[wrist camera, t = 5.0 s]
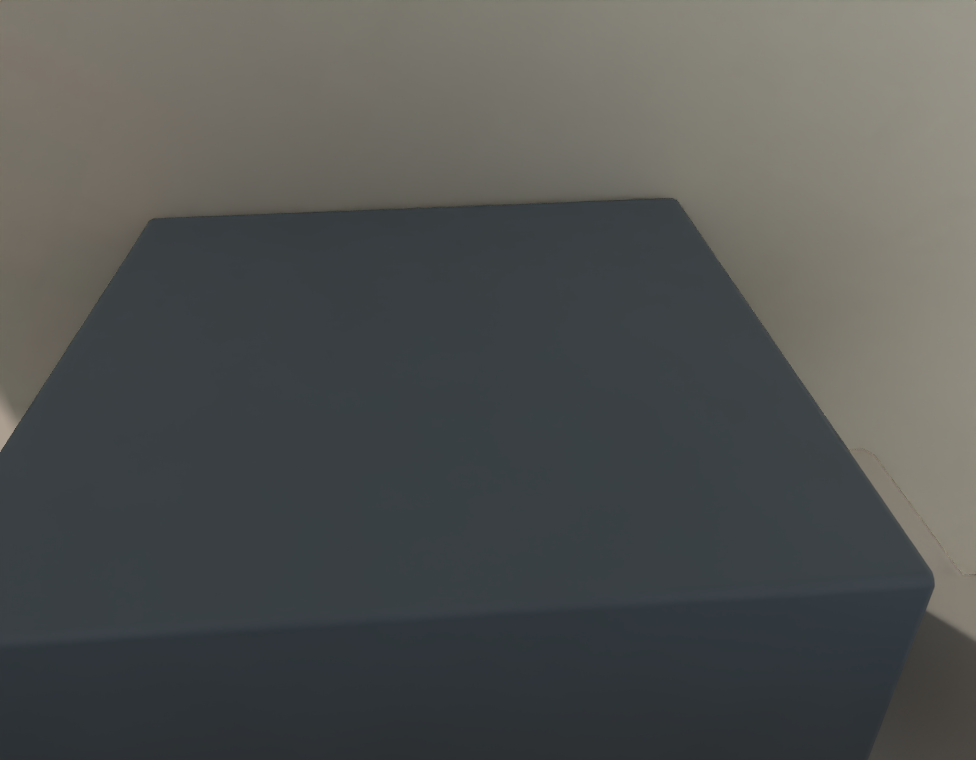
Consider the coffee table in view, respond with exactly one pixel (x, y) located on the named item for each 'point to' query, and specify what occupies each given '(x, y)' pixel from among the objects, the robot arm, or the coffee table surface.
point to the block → (440, 505)
